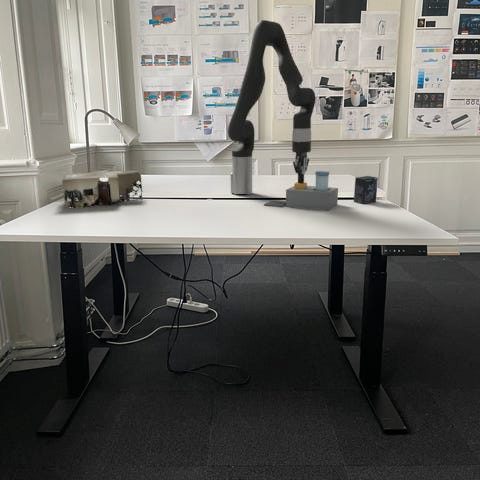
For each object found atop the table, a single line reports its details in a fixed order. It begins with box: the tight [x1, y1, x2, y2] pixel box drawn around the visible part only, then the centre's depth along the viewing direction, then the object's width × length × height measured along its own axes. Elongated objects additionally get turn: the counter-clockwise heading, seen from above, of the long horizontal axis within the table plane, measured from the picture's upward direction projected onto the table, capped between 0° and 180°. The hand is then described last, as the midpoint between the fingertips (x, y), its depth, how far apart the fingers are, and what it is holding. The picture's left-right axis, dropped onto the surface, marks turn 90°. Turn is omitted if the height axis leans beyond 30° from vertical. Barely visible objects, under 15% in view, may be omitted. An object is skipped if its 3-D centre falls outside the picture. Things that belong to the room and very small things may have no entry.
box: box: [353, 175, 379, 205], centre depth 204 cm, size 8×6×11 cm
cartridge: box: [314, 170, 330, 191], centre depth 196 cm, size 5×5×12 cm
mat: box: [263, 200, 286, 208], centre depth 203 cm, size 8×8×1 cm
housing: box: [285, 185, 339, 211], centre depth 199 cm, size 18×12×7 cm, turn 63°
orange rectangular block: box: [294, 181, 308, 189], centre depth 200 cm, size 4×4×5 cm
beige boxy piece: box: [61, 170, 143, 209], centre depth 208 cm, size 18×32×13 cm, turn 104°
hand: (300, 182), depth 200 cm, fingers closed, pressing on orange rectangular block
